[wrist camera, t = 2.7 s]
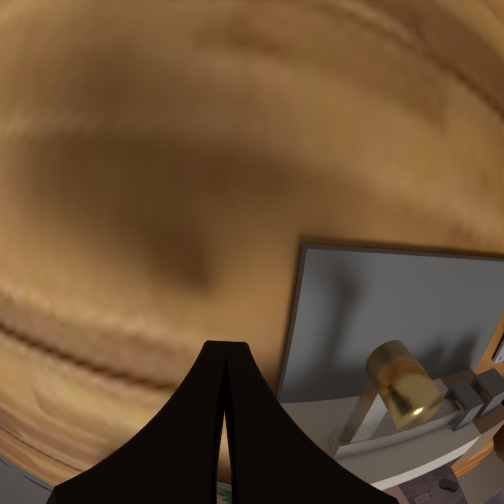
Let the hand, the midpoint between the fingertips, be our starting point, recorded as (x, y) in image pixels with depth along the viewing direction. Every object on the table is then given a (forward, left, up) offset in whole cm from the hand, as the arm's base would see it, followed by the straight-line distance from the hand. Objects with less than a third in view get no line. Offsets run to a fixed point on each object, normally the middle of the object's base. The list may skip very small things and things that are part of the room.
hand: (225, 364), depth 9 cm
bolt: (-9, +2, 0) cm, 9 cm away
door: (-11, +3, -4) cm, 12 cm away
